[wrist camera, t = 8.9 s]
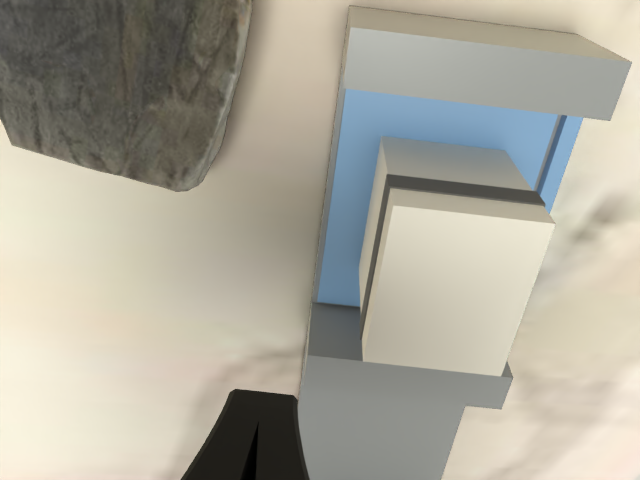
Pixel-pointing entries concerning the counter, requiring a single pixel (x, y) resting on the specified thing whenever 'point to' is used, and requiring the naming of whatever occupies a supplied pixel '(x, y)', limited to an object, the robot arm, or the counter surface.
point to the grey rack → (354, 198)
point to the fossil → (122, 82)
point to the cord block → (448, 256)
